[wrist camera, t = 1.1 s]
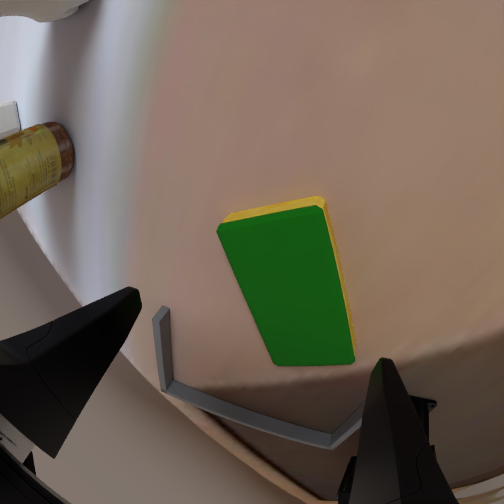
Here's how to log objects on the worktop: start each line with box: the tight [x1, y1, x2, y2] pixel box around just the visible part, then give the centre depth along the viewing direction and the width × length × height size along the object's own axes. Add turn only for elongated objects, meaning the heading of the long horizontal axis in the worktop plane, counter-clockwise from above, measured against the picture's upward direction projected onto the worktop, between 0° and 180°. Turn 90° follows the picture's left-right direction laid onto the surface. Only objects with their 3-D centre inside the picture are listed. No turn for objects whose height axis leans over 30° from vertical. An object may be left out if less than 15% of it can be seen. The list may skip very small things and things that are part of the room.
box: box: [152, 306, 365, 450], centre depth 31 cm, size 24×15×2 cm, turn 80°
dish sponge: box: [216, 196, 356, 366], centre depth 22 cm, size 7×14×2 cm, turn 19°
